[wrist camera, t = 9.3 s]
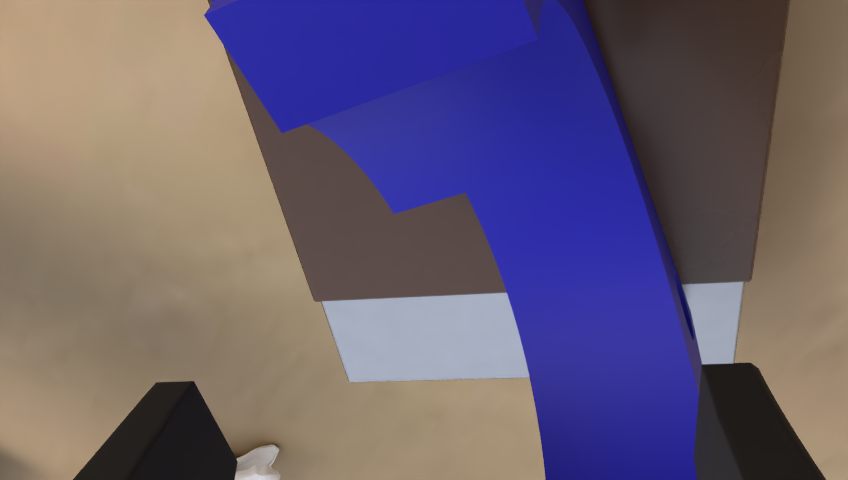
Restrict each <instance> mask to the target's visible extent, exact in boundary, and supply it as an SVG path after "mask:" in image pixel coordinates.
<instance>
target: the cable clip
mask: <svg viewBox="0 0 848 480" xmlns="http://www.w3.org/2000/svg"><path fill="white" fill-rule="evenodd" d="M211 1H212V2H213V4H212V5H211V7H210V8H209V9H208V11H207V12H206V13H205V15H204V16H205V17H206V19H207V20H208V22H209V23H210V25H211V26H212V28H213V29H214V31H215V32H216V34H217V35H218V37H219V38H220V40H221V41H222V43H223V44H224V46H225V48H226V49H227V51H228V52H229V54H230V55H231V57H232V58H233V60H234V61H235V63H236V64H237V66H238V67H239V69H240V70H241V72H242V73H243V75H244V76H245V78H246V79H247V81H248V82H249V84H250V86H251V87H252V89H253V90H254V92H255V93H256V95H257V96H258V98H259V99H260V101H261V102H262V104H263V105H264V107H265V108H266V110H267V111H268V113H269V114H270V116H271V117H272V119H273V120H274V122H275V123H276V125H277V127H278V128H279V130H280V131H281V133H284V132H287V131H289V130H292V129H295V128H298V127H300V126H303V125H306V124H308V125H309V126H311V127H313V128H315V129H316V130H318V131H320V132H321V133H323V134H324V135H325V136H327V137H328V138H329V139H331V140H332V141H333V142H335V143H336V144H337V145H338V146H339V147H340V148H341V149H343V150H344V151H345V152H346V153H347V154H348V155H349V156H350V157H351V158H352V159H353V160H354V161H355V162H356V163H357V165H358V166H359V167H360V168H361V169H362V170H363V171H364V172H365V174H366V175H367V176H368V178H369V179H370V180H371V181H372V183H373V184H374V185H375V186H376V188H377V189H378V191H379V192H380V194H381V195H382V197H383V198H384V199H385V201H386V202H387V204H388V205H389V207H390V209H391V210H392V212H393V213H394V214H396V213H399V212H403V211H406V210H409V209H412V208H416V207H419V206H422V205H426V204H429V203H432V202H435V201H439V200H442V199H445V198H449V197H452V196H455V195H458V194H462V193H466V195H467V197H468V198H469V200H470V202H471V205H472V207H473V209H474V211H475V213H476V215H477V217H478V219H479V222H480V224H481V226H482V228H483V231H484V233H485V236H486V238H487V240H488V243H489V245H490V248H491V250H492V253H493V255H494V258H495V261H496V263H497V266H498V269H499V271H500V274H501V277H502V280H503V283H504V286H505V289H506V292H507V295H508V298H509V301H510V304H511V308H512V311H513V314H514V318H515V321H516V325H517V328H518V332H519V335H520V339H521V343H522V347H523V351H524V355H525V359H526V363H527V368H528V372H529V377H530V381H531V386H532V391H533V396H534V401H535V406H536V412H537V418H538V424H539V430H540V436H541V443H542V451H543V458H544V467H545V477H546V480H697V476H696V469H695V462H694V446H695V435H696V423H697V412H698V400H699V388H700V377H701V365H702V361H701V356H700V352H699V347H698V342H697V338H696V333H695V328H694V324H693V319H692V314H691V311H690V308H689V305H688V302H687V299H686V296H685V293H684V290H683V287H682V285H681V282H680V279H679V276H678V273H677V270H676V267H675V264H674V261H673V258H672V256H671V253H670V250H669V247H668V244H667V241H666V238H665V235H664V232H663V230H662V227H661V224H660V221H659V218H658V215H657V212H656V209H655V206H654V204H653V201H652V198H651V195H650V192H649V189H648V186H647V183H646V180H645V178H644V175H643V172H642V169H641V166H640V163H639V160H638V157H637V154H636V152H635V149H634V146H633V143H632V140H631V137H630V134H629V131H628V128H627V126H626V123H625V120H624V117H623V114H622V111H621V108H620V105H619V102H618V99H617V97H616V94H615V91H614V88H613V85H612V82H611V79H610V76H609V73H608V71H607V68H606V65H605V62H604V59H603V56H602V53H601V50H600V47H599V45H598V42H597V39H596V36H595V33H594V30H593V27H592V24H591V21H590V19H589V16H588V13H587V10H586V7H585V4H584V1H583V0H211Z"/></svg>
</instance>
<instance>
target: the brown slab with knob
mask: <svg viewBox="0 0 848 480" xmlns="http://www.w3.org/2000/svg"><path fill="white" fill-rule="evenodd" d="M583 1H584V4H585V7H586V10H587V13H588V16H589V19H590V21H591V24H592V27H593V30H594V33H595V36H596V39H597V42H598V45H599V47H600V50H601V53H602V56H603V59H604V62H605V65H606V68H607V71H608V73H609V76H610V79H611V82H612V85H613V88H614V91H615V94H616V97H617V99H618V102H619V105H620V108H621V111H622V114H623V117H624V120H625V123H626V126H627V128H628V131H629V134H630V137H631V140H632V143H633V146H634V149H635V152H636V154H637V157H638V160H639V163H640V166H641V169H642V172H643V175H644V178H645V180H646V183H647V186H648V189H649V192H650V195H651V198H652V201H653V204H654V206H655V209H656V212H657V215H658V218H659V221H660V224H661V227H662V230H663V232H664V235H665V238H666V241H667V244H668V247H669V250H670V253H671V256H672V258H673V261H674V264H675V267H676V270H677V273H678V276H679V279H680V282H681V285H682V287H683V290H684V293H685V296H686V299H687V302H688V305H689V308H690V311H691V314H692V319H693V324H694V328H695V333H696V338H697V342H698V347H699V352H700V356H701V361H702V364H729V363H734V362H735V354H736V346H737V339H738V331H739V324H740V316H741V308H742V301H743V293H744V285H745V282H749V281H751V279H752V273H753V266H754V259H755V251H756V244H757V237H758V230H759V222H760V215H761V208H762V201H763V193H764V186H765V179H766V172H767V164H768V157H769V150H770V143H771V135H772V128H773V121H774V114H775V106H776V99H777V92H778V85H779V77H780V70H781V63H782V56H783V49H784V41H785V34H786V27H787V20H788V12H789V5H790V0H583ZM208 2H209V5H210V7H211V5H212V4H213V2H212V1H211V0H208ZM223 45H224V44H223ZM224 48H225V46H224ZM225 50H226V53H227V56H228V59H229V62H230V65H231V67H232V70H233V73H234V76H235V79H236V81H237V84H238V87H239V90H240V93H241V96H242V98H243V101H244V104H245V107H246V110H247V113H248V115H249V118H250V121H251V124H252V127H253V130H254V132H255V135H256V138H257V141H258V144H259V146H260V149H261V152H262V155H263V158H264V161H265V163H266V166H267V169H268V172H269V175H270V178H271V180H272V183H273V186H274V189H275V192H276V195H277V197H278V200H279V203H280V206H281V209H282V212H283V214H284V217H285V220H286V223H287V226H288V228H289V231H290V234H291V237H292V240H293V243H294V245H295V248H296V251H297V254H298V257H299V260H300V262H301V265H302V268H303V271H304V274H305V277H306V279H307V282H308V285H309V288H310V291H311V293H312V296H313V299H314V301H316V302H321V303H322V306H323V309H324V312H325V315H326V317H327V320H328V323H329V326H330V329H331V332H332V335H333V338H334V341H335V343H336V346H337V349H338V352H339V355H340V358H341V361H342V364H343V367H344V369H345V372H346V375H347V378H348V381H349V382H381V381H419V380H457V379H495V378H530V377H529V372H528V368H527V363H526V359H525V355H524V351H523V347H522V343H521V339H520V335H519V332H518V328H517V325H516V321H515V318H514V314H513V311H512V308H511V304H510V301H509V298H508V295H507V292H506V289H505V286H504V283H503V280H502V277H501V274H500V271H499V269H498V266H497V263H496V261H495V258H494V255H493V253H492V250H491V248H490V245H489V243H488V240H487V238H486V236H485V233H484V231H483V228H482V226H481V224H480V222H479V219H478V217H477V215H476V213H475V211H474V209H473V207H472V205H471V202H470V200H469V198H468V197H467V195H466V193H462V194H458V195H455V196H452V197H449V198H445V199H442V200H439V201H435V202H432V203H429V204H426V205H422V206H419V207H416V208H412V209H409V210H406V211H403V212H399V213H396V214H394V213H393V212H392V210H391V209H390V207H389V205H388V204H387V202H386V201H385V199H384V198H383V197H382V195H381V194H380V192H379V191H378V189H377V188H376V186H375V185H374V184H373V183H372V181H371V180H370V179H369V178H368V176H367V175H366V174H365V172H364V171H363V170H362V169H361V168H360V167H359V166H358V165H357V163H356V162H355V161H354V160H353V159H352V158H351V157H350V156H349V155H348V154H347V153H346V152H345V151H344V150H343V149H341V148H340V147H339V146H338V145H337V144H336V143H335V142H333V141H332V140H331V139H329V138H328V137H327V136H325V135H324V134H323V133H321V132H320V131H318V130H316V129H315V128H313V127H311V126H309V125H308V124H306V125H303V126H300V127H298V128H295V129H292V130H289V131H287V132H284V133H281V131H280V130H279V128H278V127H277V125H276V123H275V122H274V120H273V119H272V117H271V116H270V114H269V113H268V111H267V110H266V108H265V107H264V105H263V104H262V102H261V101H260V99H259V98H258V96H257V95H256V93H255V92H254V90H253V89H252V87H251V86H250V84H249V82H248V81H247V79H246V78H245V76H244V75H243V73H242V72H241V70H240V69H239V67H238V66H237V64H236V63H235V61H234V60H233V58H232V57H231V55H230V54H229V52H228V51H227V49H226V48H225Z"/></svg>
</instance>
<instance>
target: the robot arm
mask: <svg viewBox="0 0 848 480" xmlns="http://www.w3.org/2000/svg"><path fill="white" fill-rule="evenodd" d="M694 462H695V469H696V476H697V480H826V479H825V477H824V476H823V474H822V473H821V471H820V470H819V468H818V467H817V465H816V464H815V463H814V461H813V459H812V458H811V456H810V455H809V453H808V452H807V450H806V449H805V447H804V445H803V444H802V442H801V441H800V439H799V438H798V436H797V435H796V433H795V431H794V430H793V428H792V427H791V425H790V423H789V422H788V420H787V418H786V417H785V415H784V413H783V412H782V410H781V408H780V407H779V405H778V403H777V402H776V400H775V398H774V396H773V395H772V393H771V391H770V389H769V387H768V386H767V384H766V382H765V380H764V378H763V376H762V374H761V372H760V370H759V369H758V368H757V367H756V366H754V365H753V364H752V363H729V364H702V365H701V377H700V388H699V400H698V412H697V423H696V435H695V446H694ZM237 463H238V461H237V460H236V458H235V456H234V454H233V452H232V450H231V449H230V447H229V445H228V443H227V441H226V439H225V438H224V436H223V434H222V432H221V430H220V428H219V427H218V425H217V423H216V421H215V419H214V417H213V416H212V414H211V412H210V410H209V408H208V406H207V405H206V403H205V401H204V399H203V397H202V395H201V394H200V392H199V390H198V388H197V386H196V384H195V383H194V381H187V382H157V383H155V385H154V386H153V387H152V388H151V389H150V390H149V391H148V392H147V394H146V395H145V396H144V397H143V398H142V399H141V401H140V402H139V403H138V404H137V405H136V406H135V408H134V409H133V410H132V411H131V412H130V413H129V415H128V416H127V417H126V418H125V419H124V420H123V422H122V423H121V424H120V425H119V426H118V428H117V429H116V430H115V431H114V432H113V433H112V435H111V436H110V437H109V438H108V439H107V441H106V442H105V443H104V444H103V445H102V446H101V448H100V449H99V450H98V451H97V452H96V453H95V455H94V456H93V457H92V458H91V459H90V460H89V462H88V463H87V464H86V465H85V466H84V468H83V469H82V470H81V471H80V472H79V473H78V474H77V476H76V477H75V478H74V479H73V480H235V474H236V469H237Z"/></svg>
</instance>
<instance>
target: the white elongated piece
mask: <svg viewBox="0 0 848 480" xmlns="http://www.w3.org/2000/svg"><path fill="white" fill-rule="evenodd" d="M278 452H279V448H278V447H276V446H275V445H266V446H261V447H258V448H256V449H254V450H252V451H250V452H249V453H248V454H246V455H243V456H241V457H239V458H236V460H237V461H238V463H237V469H236V474H235V480H279V479H280V477H281V474H280V473H278V472H277V471H276V470H275V469H273V468H272V467H271V465H272V464H273V462H274V461H275V459H276V456H277V454H278Z"/></svg>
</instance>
